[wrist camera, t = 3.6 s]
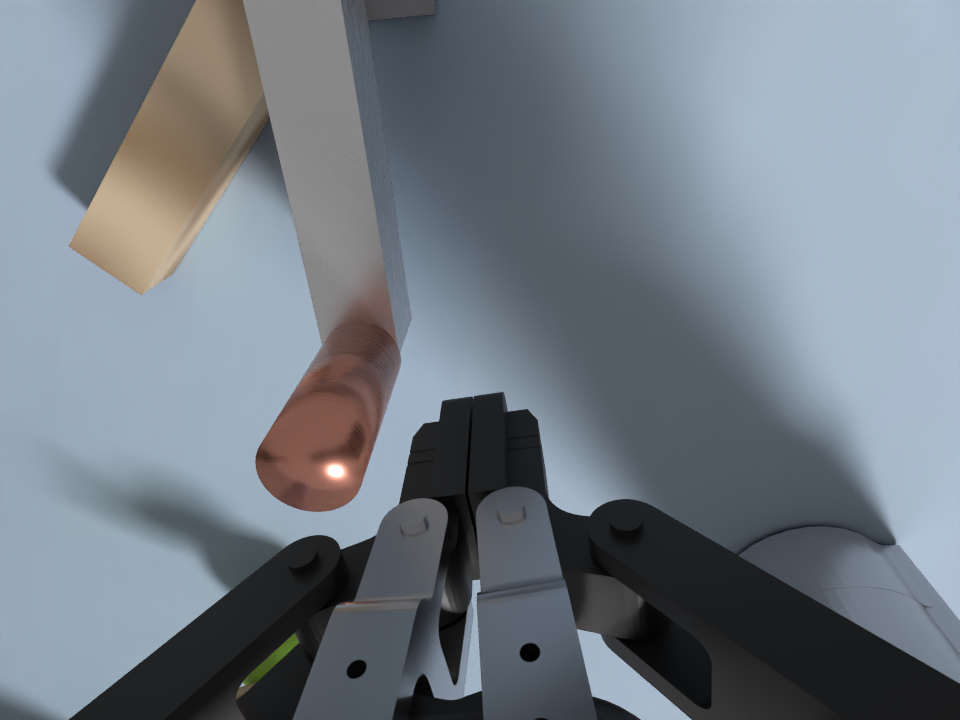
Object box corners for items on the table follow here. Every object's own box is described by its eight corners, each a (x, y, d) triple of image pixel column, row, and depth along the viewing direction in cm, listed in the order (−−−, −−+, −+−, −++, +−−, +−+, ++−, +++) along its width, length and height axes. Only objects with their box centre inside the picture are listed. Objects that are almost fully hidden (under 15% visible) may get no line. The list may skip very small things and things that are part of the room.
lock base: (410, -239, 18) (365, -380, 12) (460, 253, 24) (447, 313, 19) (-87, -174, 19) (-345, -274, 13) (96, 279, 26) (-19, 342, 20)
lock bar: (222, -185, 16) (-75, -439, 8) (355, -202, 15) (192, -482, 7) (339, 354, 23) (251, 514, 15) (430, 349, 23) (390, 508, 15)
